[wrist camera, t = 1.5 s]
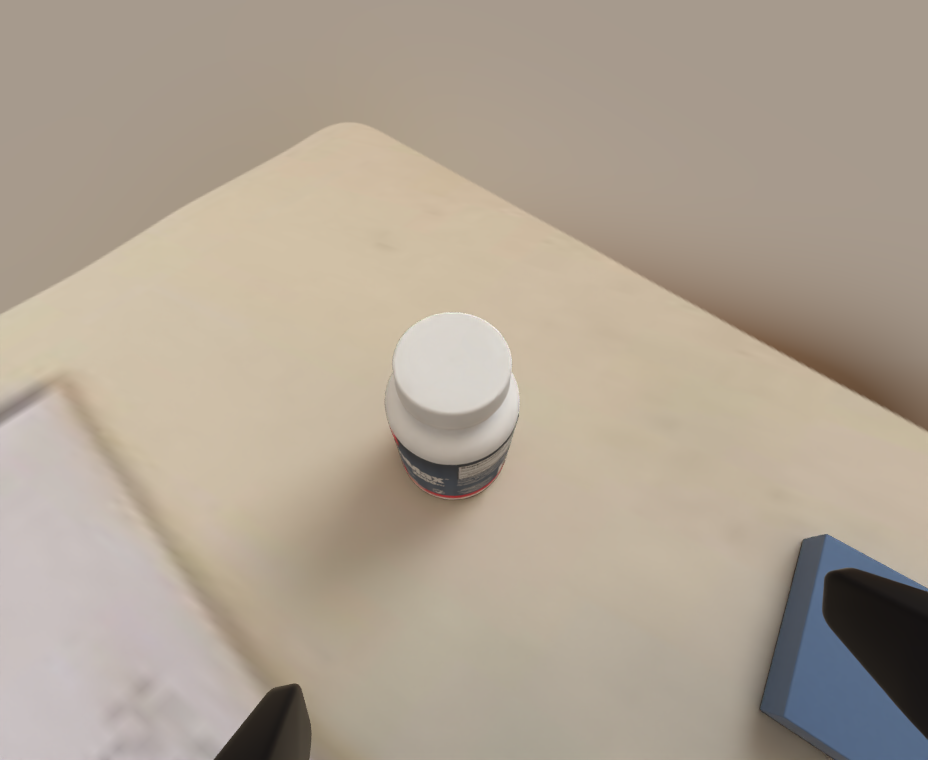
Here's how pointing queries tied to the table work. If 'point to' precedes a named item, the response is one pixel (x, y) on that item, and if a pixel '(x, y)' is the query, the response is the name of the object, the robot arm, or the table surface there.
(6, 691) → the table surface
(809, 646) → the sticky note pad
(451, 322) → the pill bottle
